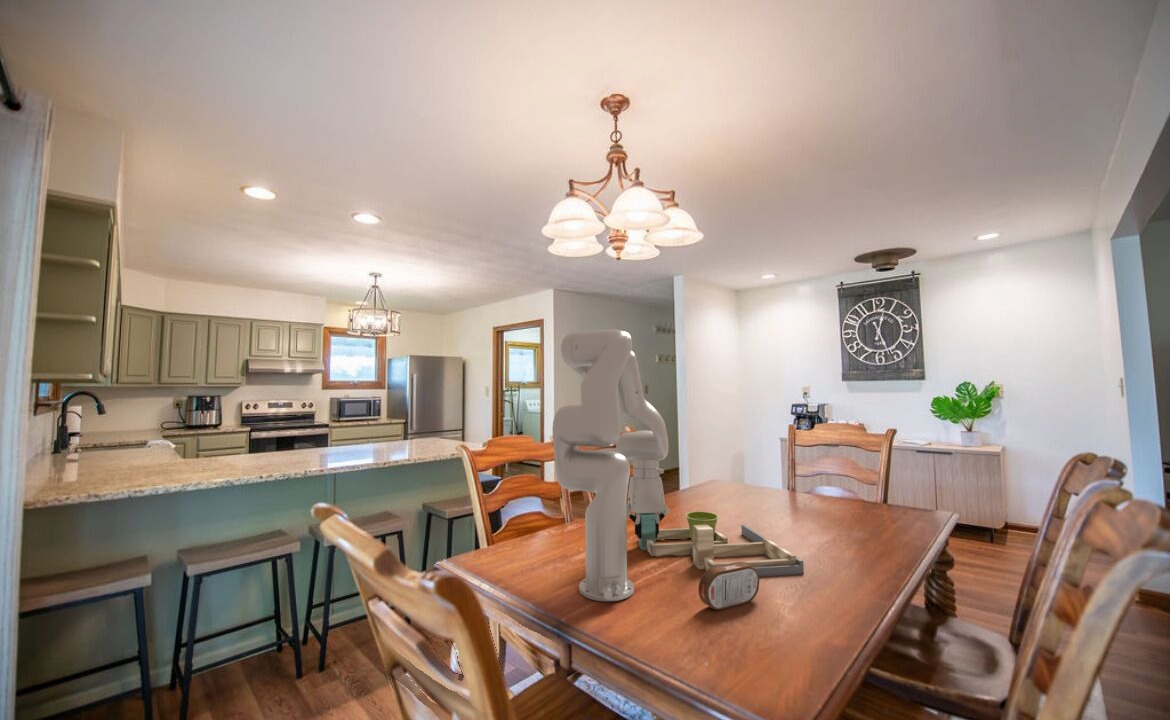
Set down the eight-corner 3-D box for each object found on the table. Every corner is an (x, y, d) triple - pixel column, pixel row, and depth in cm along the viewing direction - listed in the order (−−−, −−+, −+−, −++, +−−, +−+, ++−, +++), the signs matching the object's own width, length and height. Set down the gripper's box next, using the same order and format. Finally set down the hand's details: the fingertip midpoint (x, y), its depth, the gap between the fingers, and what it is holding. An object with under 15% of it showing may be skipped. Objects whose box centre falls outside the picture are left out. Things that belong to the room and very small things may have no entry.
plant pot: (713, 553, 134) (712, 521, 135) (681, 547, 139) (680, 516, 140) (723, 543, 142) (722, 514, 142) (692, 538, 147) (692, 509, 148)
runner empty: (796, 572, 120) (795, 531, 120) (706, 577, 117) (706, 535, 117) (767, 552, 134) (766, 516, 135) (686, 556, 131) (686, 519, 132)
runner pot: (727, 552, 134) (727, 516, 135) (646, 556, 131) (646, 519, 132) (708, 536, 148) (707, 504, 149) (634, 540, 145) (634, 507, 146)
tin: (752, 595, 107) (751, 557, 107) (762, 601, 104) (761, 561, 104) (697, 609, 100) (696, 568, 101) (707, 615, 97) (706, 573, 98)
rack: (804, 573, 119) (804, 561, 119) (714, 579, 116) (714, 566, 116) (744, 534, 151) (744, 524, 151) (673, 537, 148) (672, 527, 148)
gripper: (670, 470, 145) (671, 531, 143) (615, 471, 143) (616, 534, 141) (677, 474, 137) (678, 539, 136) (620, 476, 135) (621, 542, 134)
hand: (646, 536), depth 139 cm, fingers closed on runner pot, 4 cm apart
